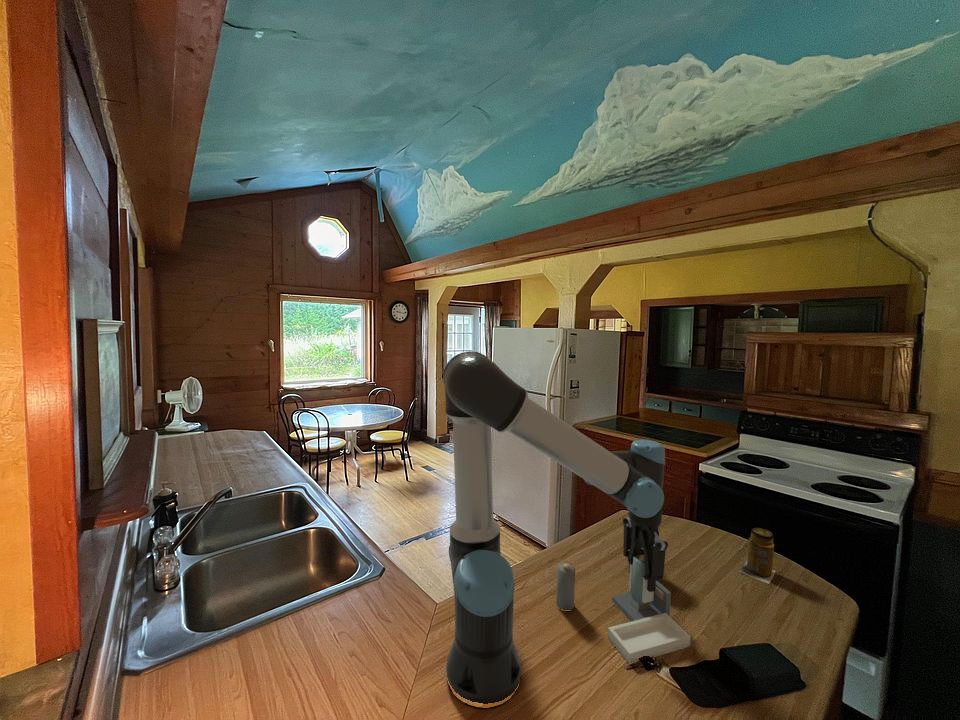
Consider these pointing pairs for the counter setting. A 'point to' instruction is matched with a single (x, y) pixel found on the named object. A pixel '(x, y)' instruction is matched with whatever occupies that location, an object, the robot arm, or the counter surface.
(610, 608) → the counter surface
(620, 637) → the trough
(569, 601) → the cell
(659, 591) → the grey l-shaped piece
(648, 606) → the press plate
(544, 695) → the counter surface
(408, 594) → the counter surface
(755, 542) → the condiment
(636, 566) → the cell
